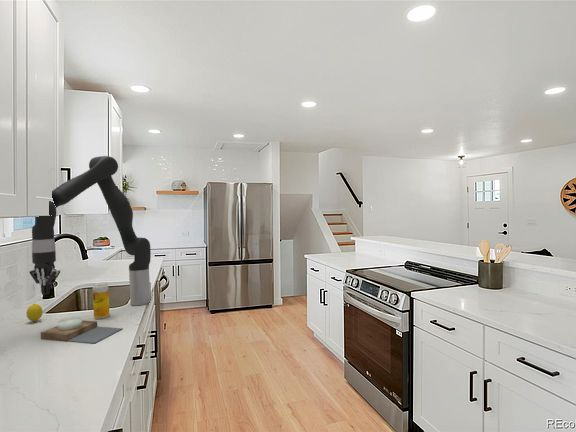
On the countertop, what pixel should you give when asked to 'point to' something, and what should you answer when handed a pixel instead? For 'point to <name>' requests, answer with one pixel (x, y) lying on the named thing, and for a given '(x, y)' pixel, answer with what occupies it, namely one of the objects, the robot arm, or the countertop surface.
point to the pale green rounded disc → (69, 323)
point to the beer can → (101, 300)
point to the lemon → (34, 312)
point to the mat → (95, 335)
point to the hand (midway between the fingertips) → (45, 294)
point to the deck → (68, 332)
